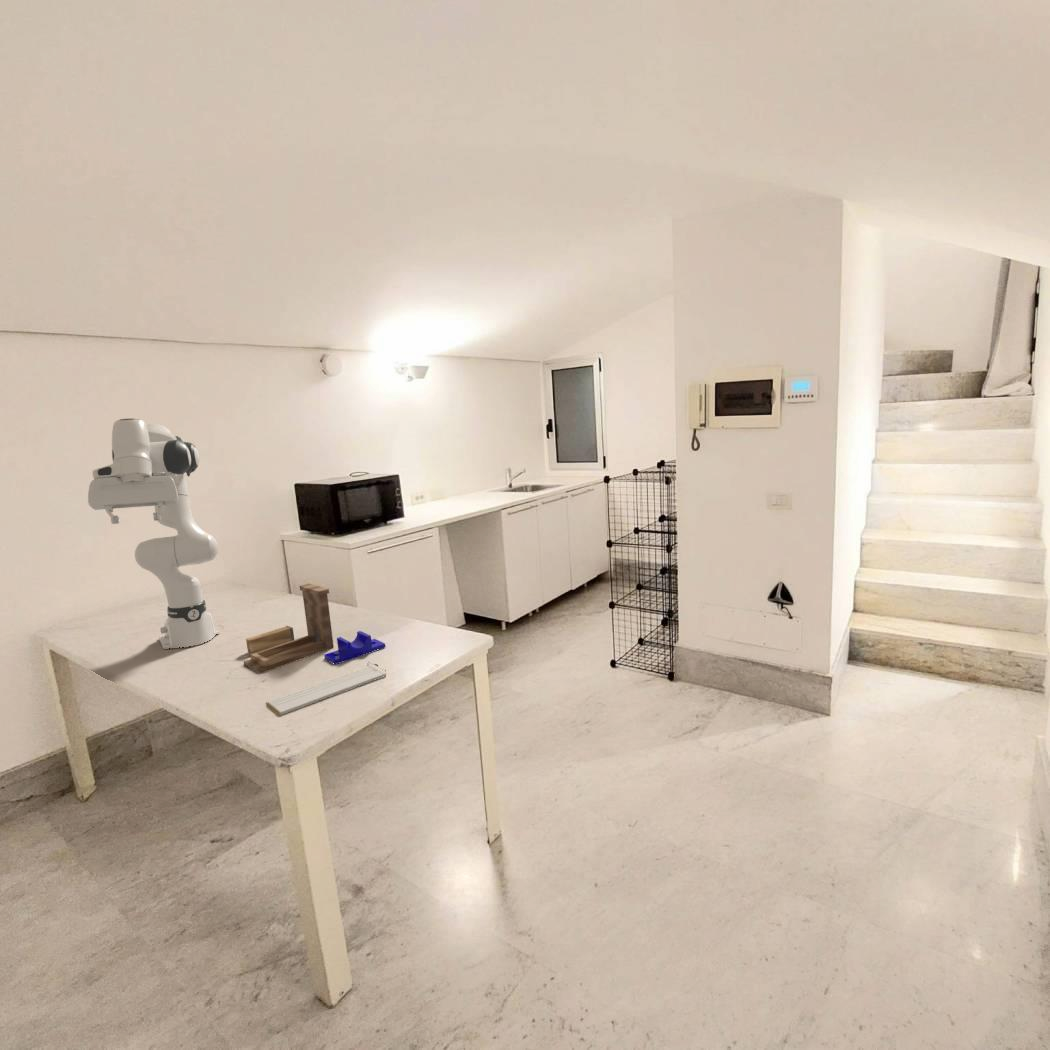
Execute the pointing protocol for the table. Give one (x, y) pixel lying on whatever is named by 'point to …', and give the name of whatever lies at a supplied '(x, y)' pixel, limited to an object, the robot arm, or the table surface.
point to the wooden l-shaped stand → (304, 646)
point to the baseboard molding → (325, 689)
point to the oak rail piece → (269, 639)
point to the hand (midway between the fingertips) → (136, 521)
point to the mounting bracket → (353, 648)
